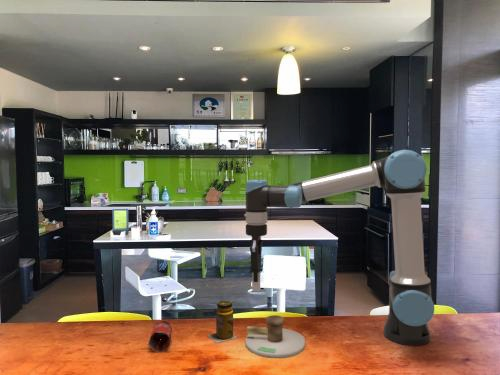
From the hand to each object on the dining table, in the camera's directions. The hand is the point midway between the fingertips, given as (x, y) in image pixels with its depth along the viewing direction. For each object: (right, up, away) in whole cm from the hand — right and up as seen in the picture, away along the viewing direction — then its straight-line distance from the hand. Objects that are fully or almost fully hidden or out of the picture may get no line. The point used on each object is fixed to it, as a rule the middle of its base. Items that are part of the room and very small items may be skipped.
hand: (256, 290), depth 139 cm
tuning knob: (+3, -15, -6) cm, 16 cm away
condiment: (-12, -17, 0) cm, 21 cm away
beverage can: (-32, -17, -6) cm, 37 cm away
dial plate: (+6, -17, -6) cm, 19 cm away
